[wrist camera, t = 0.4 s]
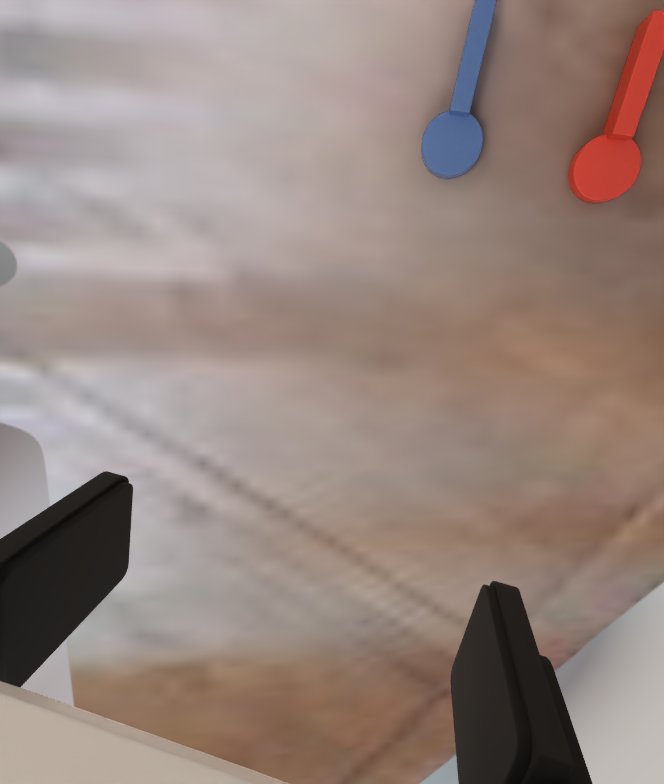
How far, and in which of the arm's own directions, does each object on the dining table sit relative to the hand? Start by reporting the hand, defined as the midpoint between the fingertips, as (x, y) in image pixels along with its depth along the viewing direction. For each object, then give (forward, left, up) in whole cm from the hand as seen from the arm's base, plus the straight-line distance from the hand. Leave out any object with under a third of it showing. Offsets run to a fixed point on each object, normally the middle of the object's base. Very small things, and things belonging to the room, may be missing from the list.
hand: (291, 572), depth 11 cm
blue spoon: (-20, +2, -29) cm, 36 cm away
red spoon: (-20, +13, -29) cm, 38 cm away
